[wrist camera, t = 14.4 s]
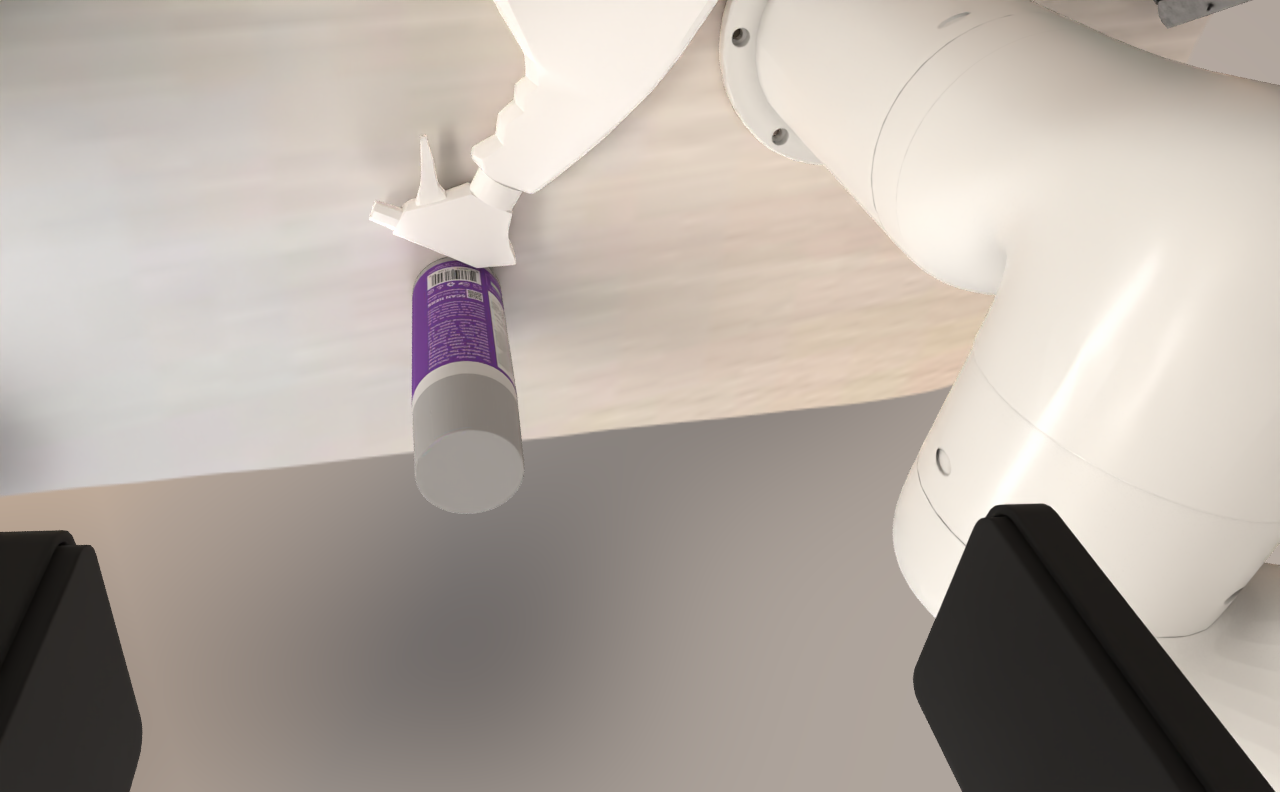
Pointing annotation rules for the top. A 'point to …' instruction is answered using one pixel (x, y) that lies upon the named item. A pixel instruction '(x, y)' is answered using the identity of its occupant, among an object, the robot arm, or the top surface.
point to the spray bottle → (547, 115)
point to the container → (463, 390)
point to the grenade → (1190, 9)
